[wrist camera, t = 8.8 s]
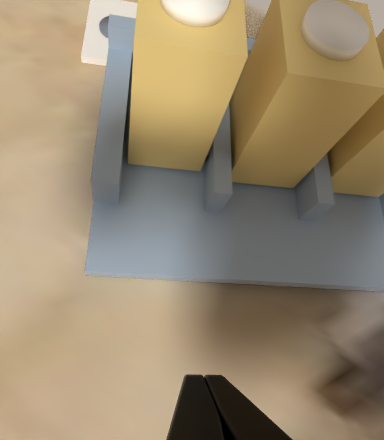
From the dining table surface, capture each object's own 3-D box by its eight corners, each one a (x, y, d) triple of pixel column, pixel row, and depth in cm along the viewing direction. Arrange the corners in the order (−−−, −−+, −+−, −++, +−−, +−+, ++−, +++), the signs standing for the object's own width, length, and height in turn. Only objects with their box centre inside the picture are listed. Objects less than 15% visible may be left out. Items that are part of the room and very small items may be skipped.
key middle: (293, 188, 23) (398, 78, 15) (225, 181, 23) (294, 61, 14) (286, 123, 25) (375, -9, 17) (224, 115, 25) (283, -27, 16)
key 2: (200, 171, 23) (253, 44, 14) (127, 163, 22) (134, 24, 13) (200, 105, 24) (246, -43, 16) (133, 96, 24) (143, -65, 15)
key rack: (406, 292, 23) (475, 273, 19) (86, 275, 20) (77, 246, 16) (368, 114, 29) (415, 66, 24) (110, 77, 26) (109, 13, 21)
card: (221, 83, 27) (224, 75, 27) (81, 62, 26) (80, 53, 25) (219, 24, 30) (222, 16, 29) (91, 2, 28) (91, -7, 27)
